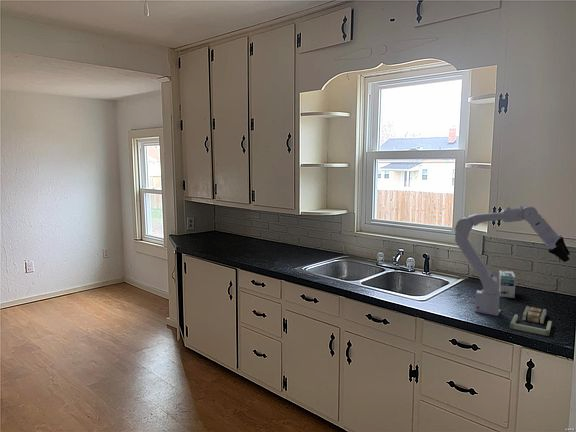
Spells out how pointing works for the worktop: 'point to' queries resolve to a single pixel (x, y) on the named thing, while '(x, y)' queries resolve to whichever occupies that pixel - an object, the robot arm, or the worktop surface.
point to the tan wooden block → (533, 316)
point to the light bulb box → (507, 284)
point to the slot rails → (528, 312)
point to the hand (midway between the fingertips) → (567, 257)
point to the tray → (529, 328)
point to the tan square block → (535, 310)
